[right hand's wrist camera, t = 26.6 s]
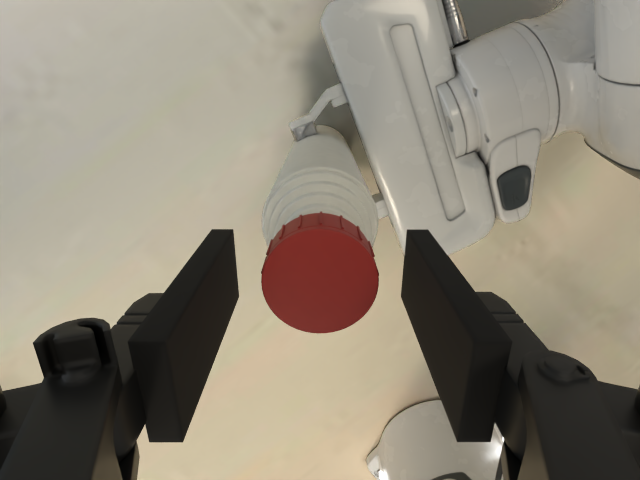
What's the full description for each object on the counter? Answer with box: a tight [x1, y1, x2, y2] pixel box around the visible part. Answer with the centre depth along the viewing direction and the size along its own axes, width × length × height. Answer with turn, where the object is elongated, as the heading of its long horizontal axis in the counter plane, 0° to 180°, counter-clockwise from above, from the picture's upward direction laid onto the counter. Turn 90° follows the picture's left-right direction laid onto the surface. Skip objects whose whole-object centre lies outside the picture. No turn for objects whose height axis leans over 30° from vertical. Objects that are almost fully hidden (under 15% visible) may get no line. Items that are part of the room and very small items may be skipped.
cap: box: [261, 211, 379, 333], centre depth 14 cm, size 4×4×2 cm
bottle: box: [262, 125, 378, 247], centre depth 25 cm, size 6×6×25 cm
